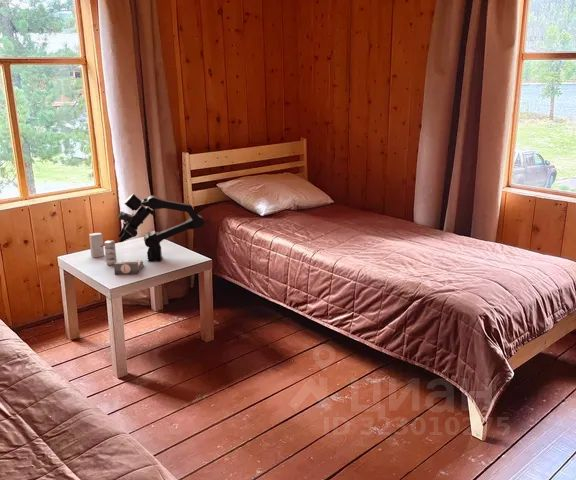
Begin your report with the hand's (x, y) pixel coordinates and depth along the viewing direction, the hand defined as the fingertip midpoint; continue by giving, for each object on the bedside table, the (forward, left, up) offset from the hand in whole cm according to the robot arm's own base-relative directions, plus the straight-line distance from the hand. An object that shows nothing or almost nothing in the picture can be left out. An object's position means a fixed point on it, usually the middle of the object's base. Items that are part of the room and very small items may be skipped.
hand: (119, 239), depth 281 cm
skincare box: (+16, -13, -13) cm, 24 cm away
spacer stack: (+5, +1, -13) cm, 14 cm away
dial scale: (-6, +10, -13) cm, 18 cm away
